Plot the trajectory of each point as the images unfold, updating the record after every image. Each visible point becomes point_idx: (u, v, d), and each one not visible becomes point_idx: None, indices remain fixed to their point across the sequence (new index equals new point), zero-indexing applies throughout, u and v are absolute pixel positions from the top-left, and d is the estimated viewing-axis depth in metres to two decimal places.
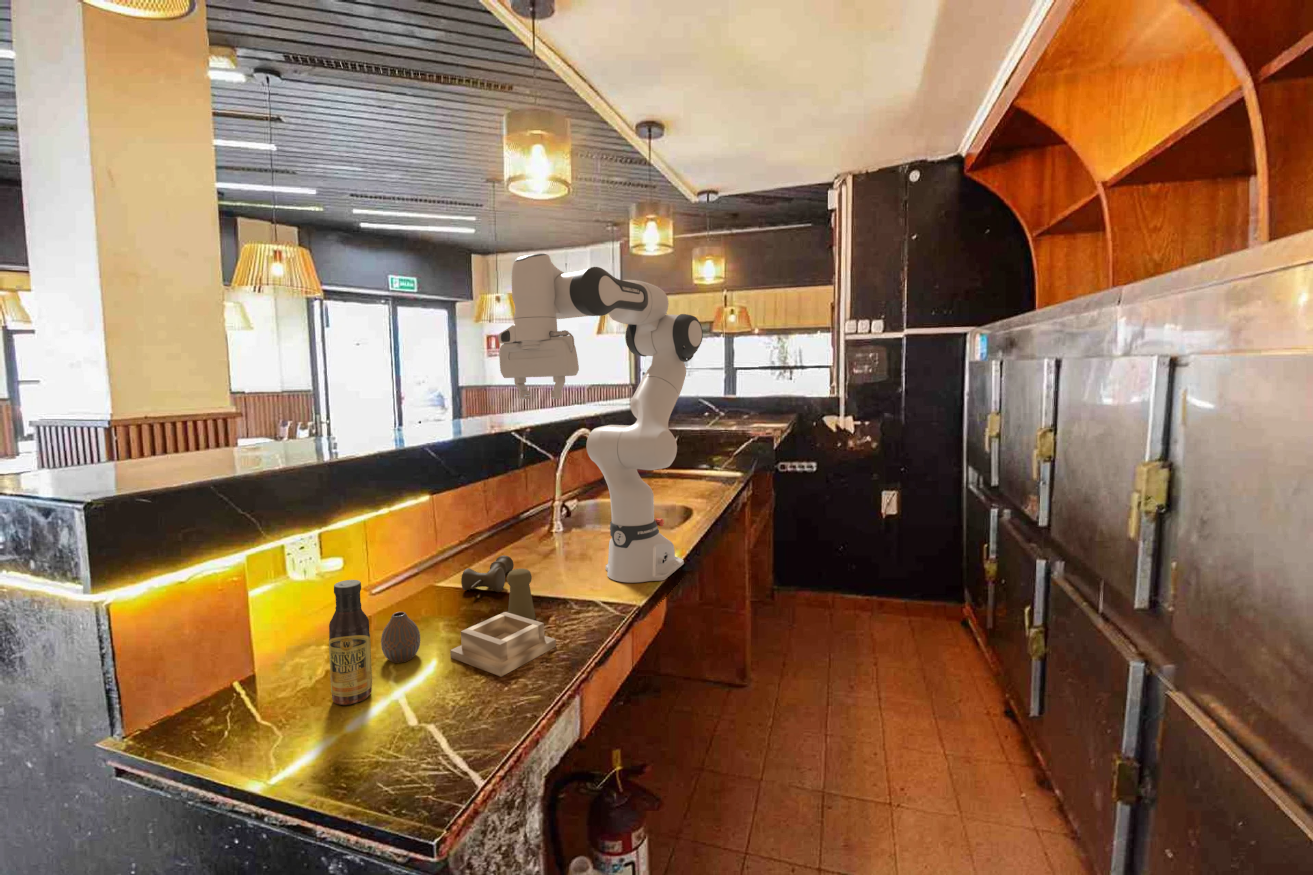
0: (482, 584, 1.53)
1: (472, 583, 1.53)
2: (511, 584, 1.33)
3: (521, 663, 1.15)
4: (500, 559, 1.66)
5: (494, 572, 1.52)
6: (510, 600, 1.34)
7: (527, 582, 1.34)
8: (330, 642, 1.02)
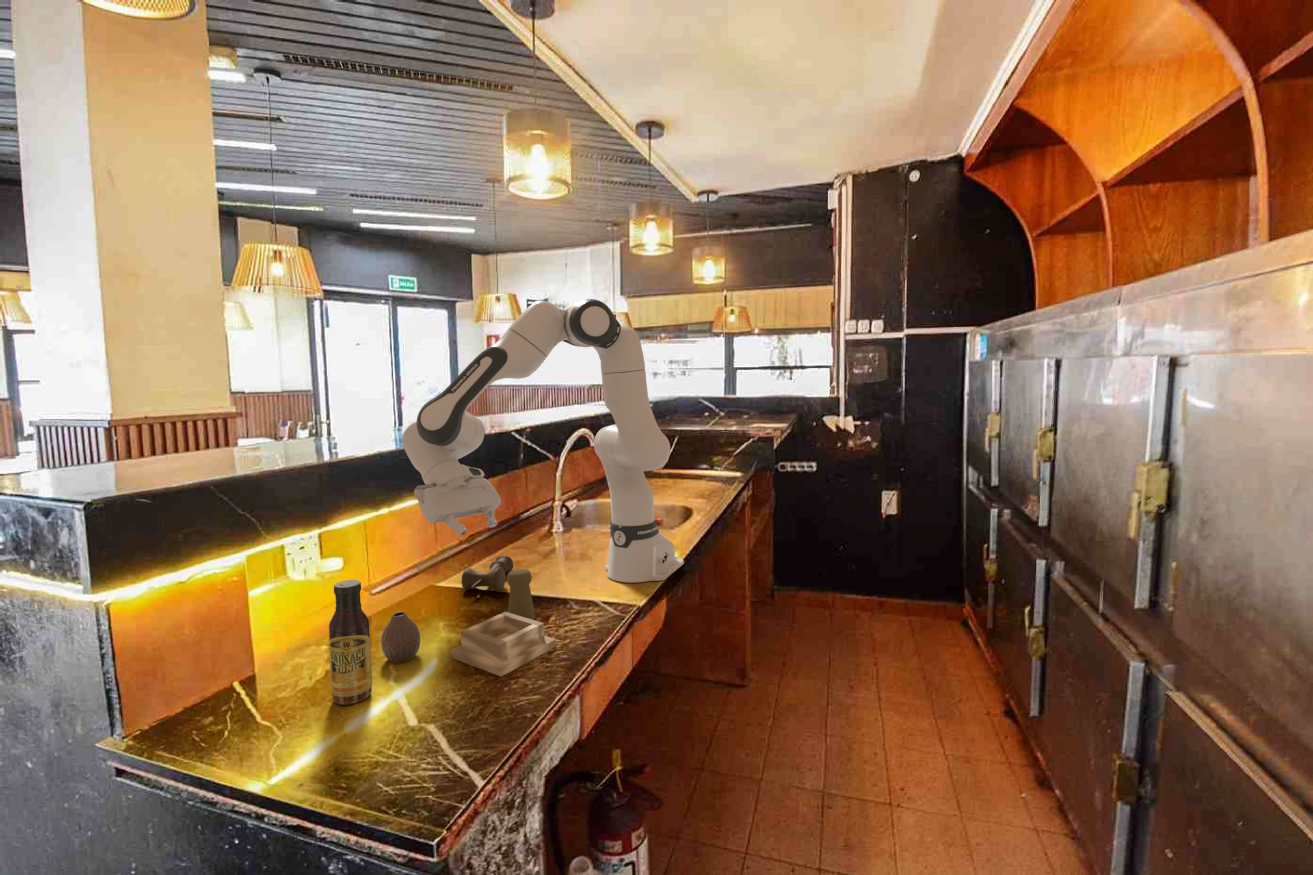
0: (482, 584, 1.54)
1: (472, 583, 1.53)
2: (511, 584, 1.33)
3: (521, 663, 1.15)
4: (500, 559, 1.66)
5: (494, 572, 1.52)
6: (510, 600, 1.34)
7: (527, 582, 1.34)
8: (330, 642, 1.02)
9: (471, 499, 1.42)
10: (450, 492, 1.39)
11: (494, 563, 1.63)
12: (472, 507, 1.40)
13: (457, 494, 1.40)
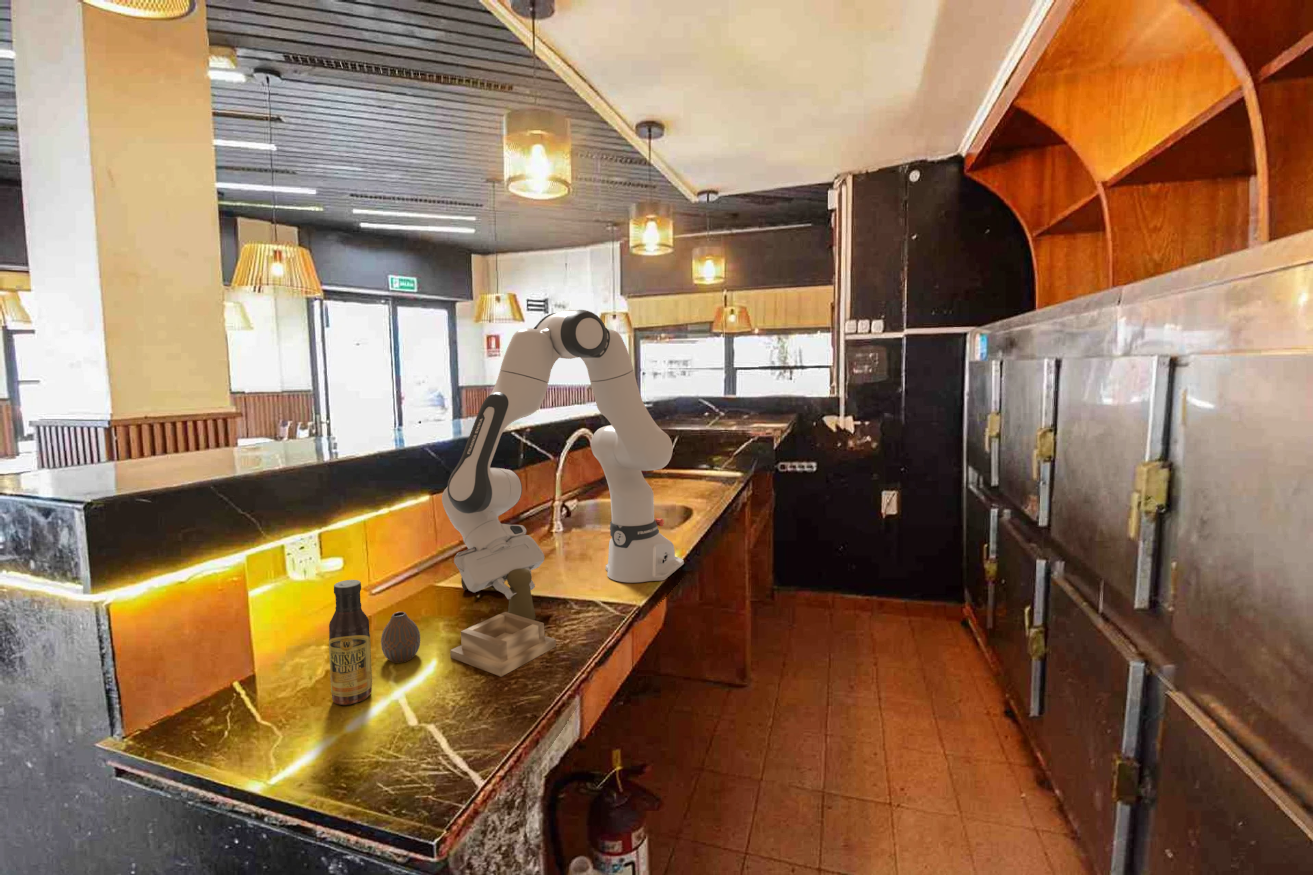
0: None
1: None
2: (511, 584, 1.33)
3: (521, 663, 1.15)
4: None
5: None
6: (510, 600, 1.34)
7: (527, 582, 1.34)
8: (330, 642, 1.02)
9: (513, 561, 1.38)
10: (491, 556, 1.35)
11: None
12: None
13: (498, 557, 1.36)
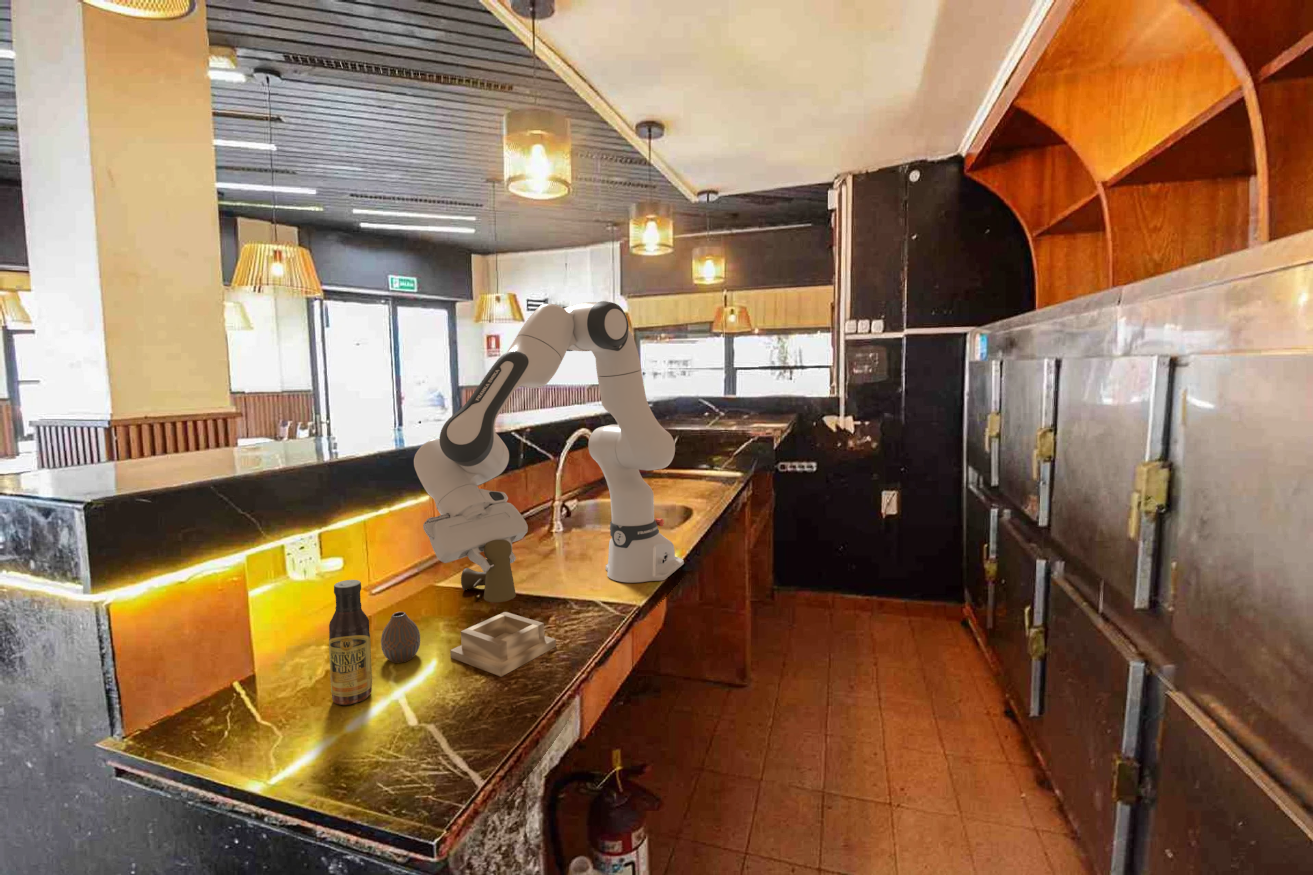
0: (482, 583, 1.54)
1: (472, 582, 1.54)
2: (488, 556, 1.18)
3: (521, 663, 1.15)
4: None
5: None
6: (487, 575, 1.19)
7: (506, 554, 1.18)
8: (330, 642, 1.02)
9: (491, 530, 1.22)
10: (466, 524, 1.20)
11: None
12: (492, 539, 1.21)
13: (475, 525, 1.21)
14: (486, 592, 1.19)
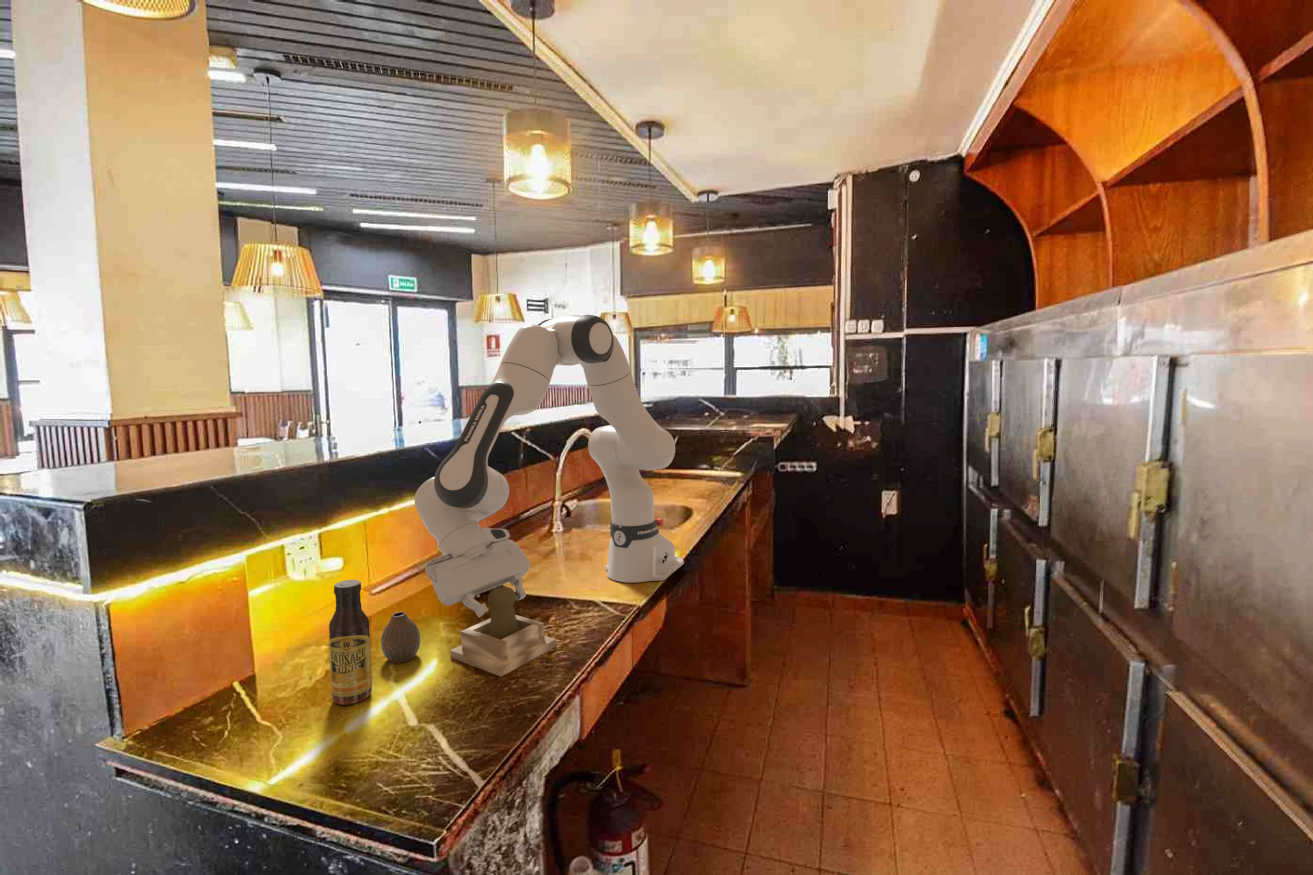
0: None
1: None
2: (492, 606, 1.17)
3: (521, 663, 1.15)
4: None
5: None
6: (491, 623, 1.19)
7: (511, 603, 1.18)
8: (330, 642, 1.02)
9: (494, 569, 1.22)
10: (468, 564, 1.19)
11: None
12: (495, 580, 1.20)
13: (477, 565, 1.20)
14: None
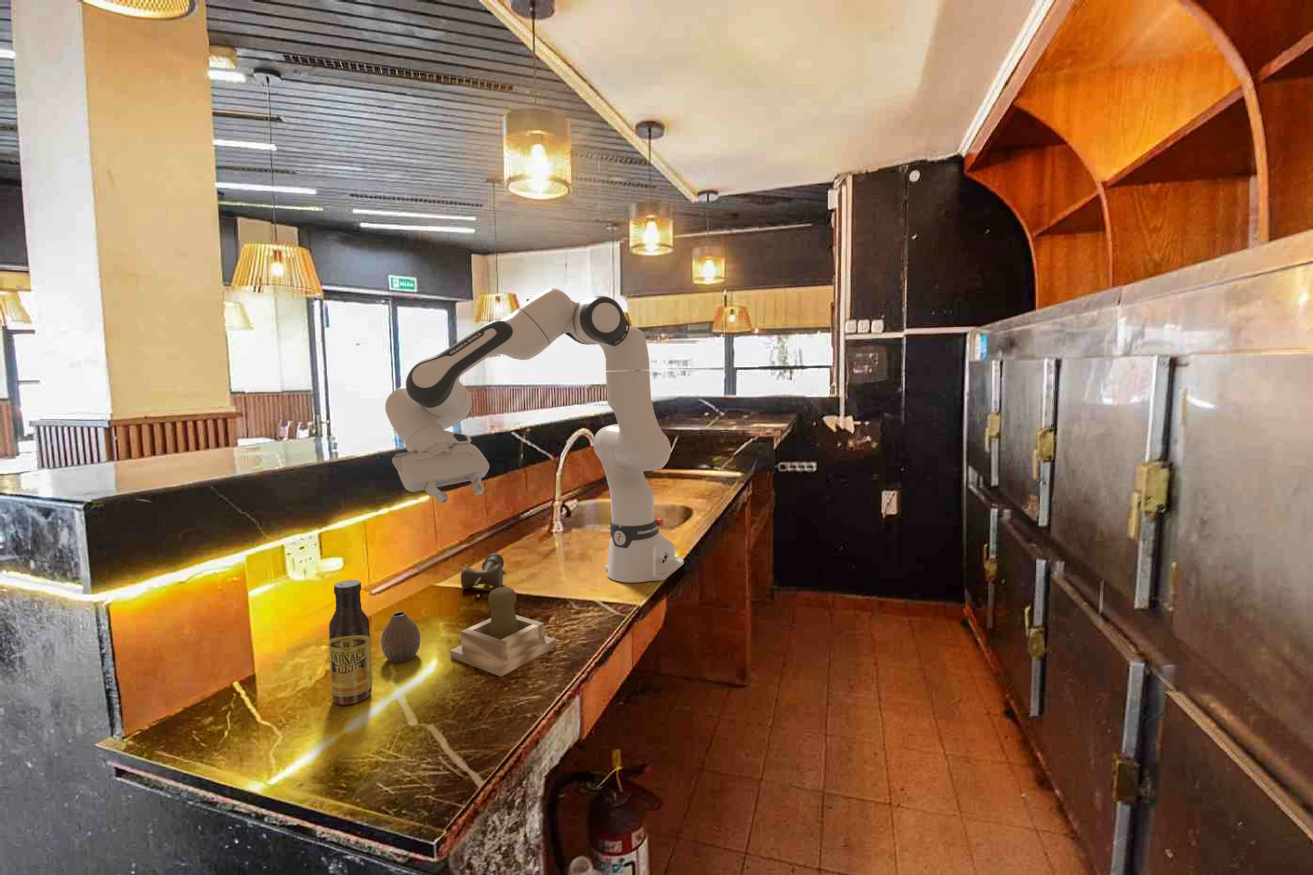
0: (482, 581, 1.55)
1: (472, 581, 1.55)
2: (493, 605, 1.18)
3: (521, 663, 1.15)
4: (491, 557, 1.68)
5: (495, 569, 1.55)
6: (492, 623, 1.19)
7: (511, 603, 1.18)
8: (330, 642, 1.02)
9: (455, 466, 1.36)
10: (431, 459, 1.34)
11: (487, 561, 1.65)
12: (455, 474, 1.34)
13: (439, 461, 1.35)
14: None
